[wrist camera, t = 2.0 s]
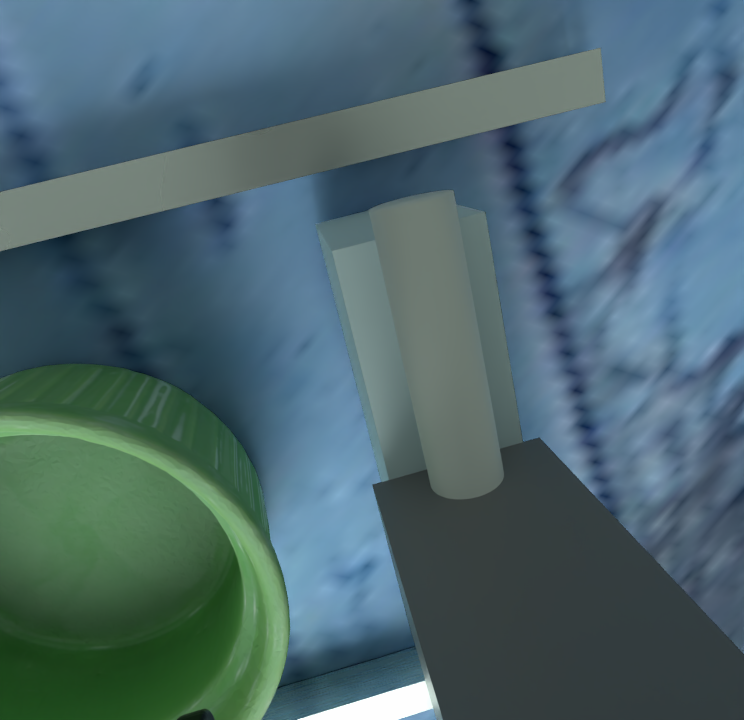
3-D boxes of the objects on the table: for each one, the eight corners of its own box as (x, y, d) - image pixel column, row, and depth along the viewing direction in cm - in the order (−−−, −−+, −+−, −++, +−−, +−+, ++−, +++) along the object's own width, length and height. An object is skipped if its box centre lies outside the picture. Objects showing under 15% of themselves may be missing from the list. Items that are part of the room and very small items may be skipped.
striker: (434, 168, 13) (1040, 216, 3) (517, 615, 17) (892, 1321, 7) (294, 203, 13) (379, 396, 3) (411, 647, 17) (631, 1425, 7)
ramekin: (347, 562, 17) (372, 698, 12) (49, 719, 17) (-25, 905, 13) (157, 263, 13) (105, 311, 9) (-207, 458, 14) (-416, 590, 9)
